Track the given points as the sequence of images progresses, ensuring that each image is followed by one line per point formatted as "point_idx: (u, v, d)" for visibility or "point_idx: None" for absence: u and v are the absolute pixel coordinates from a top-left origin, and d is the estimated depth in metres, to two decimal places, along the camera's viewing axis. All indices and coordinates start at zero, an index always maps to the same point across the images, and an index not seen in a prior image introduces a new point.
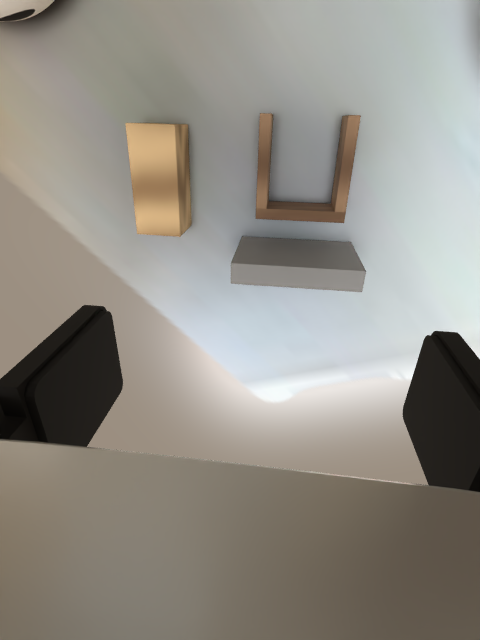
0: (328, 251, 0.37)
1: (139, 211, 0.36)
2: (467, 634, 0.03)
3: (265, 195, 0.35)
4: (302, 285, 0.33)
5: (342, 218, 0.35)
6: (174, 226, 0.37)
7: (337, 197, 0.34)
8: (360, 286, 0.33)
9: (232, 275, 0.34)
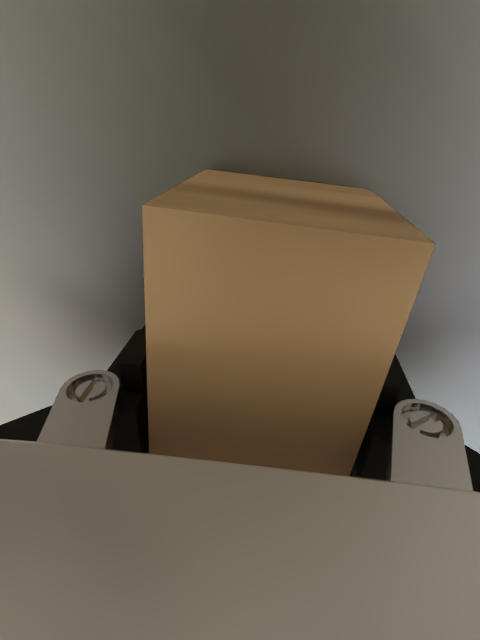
0: None
1: None
2: (467, 634, 0.03)
3: None
4: None
5: None
6: None
7: None
8: None
9: None
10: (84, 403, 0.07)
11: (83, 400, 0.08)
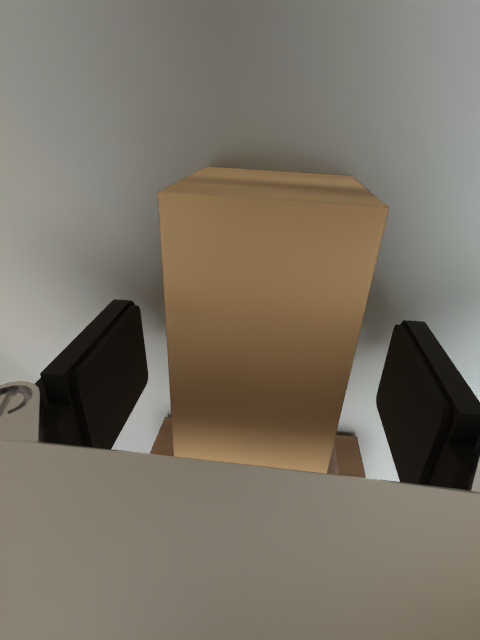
0: None
1: None
2: (467, 634, 0.03)
3: None
4: None
5: None
6: None
7: None
8: None
9: None
10: (4, 416, 0.07)
11: (1, 414, 0.07)
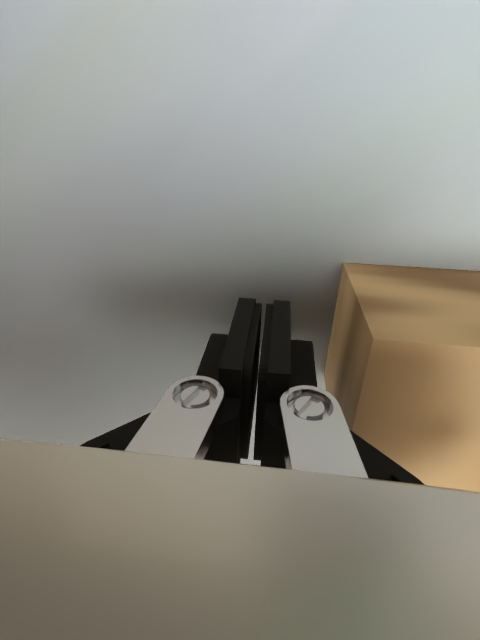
0: None
1: None
2: (467, 634, 0.03)
3: None
4: None
5: None
6: None
7: None
8: None
9: None
10: (185, 409, 0.07)
11: (186, 404, 0.08)
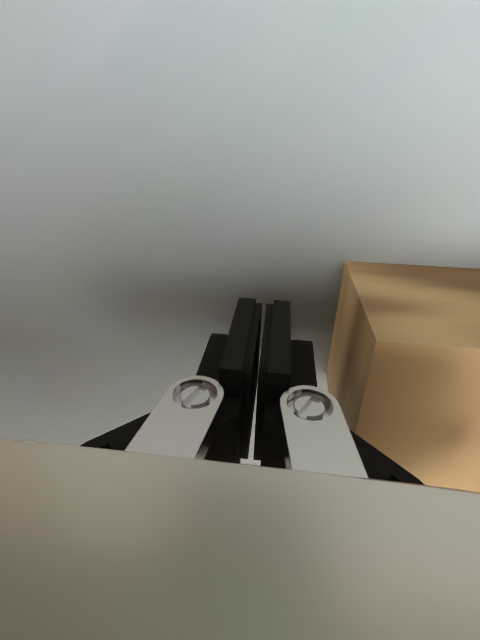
0: None
1: None
2: (467, 634, 0.03)
3: None
4: None
5: None
6: None
7: None
8: None
9: None
10: (185, 409, 0.07)
11: (186, 405, 0.08)
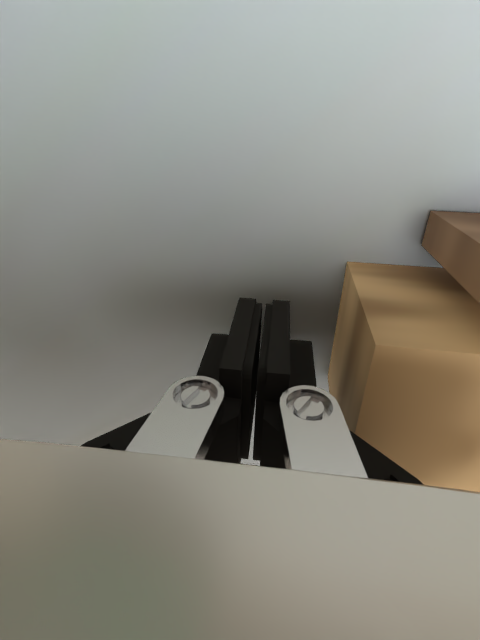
0: None
1: None
2: (467, 634, 0.03)
3: None
4: None
5: None
6: None
7: None
8: None
9: None
10: (185, 409, 0.07)
11: (186, 405, 0.08)
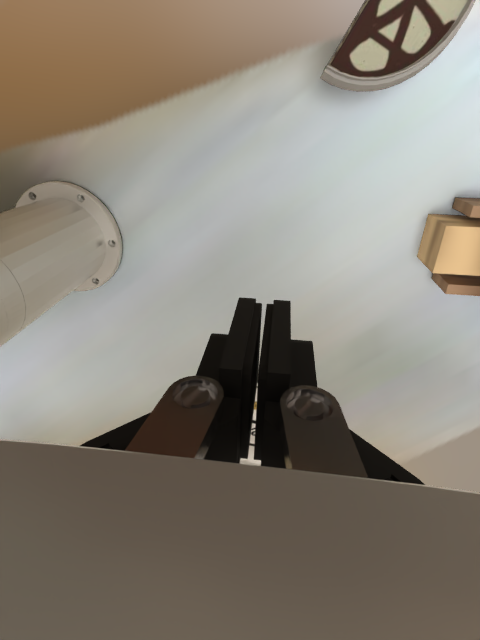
0: None
1: None
2: (467, 634, 0.03)
3: None
4: None
5: None
6: None
7: None
8: None
9: None
10: (185, 409, 0.07)
11: (186, 405, 0.08)
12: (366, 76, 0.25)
